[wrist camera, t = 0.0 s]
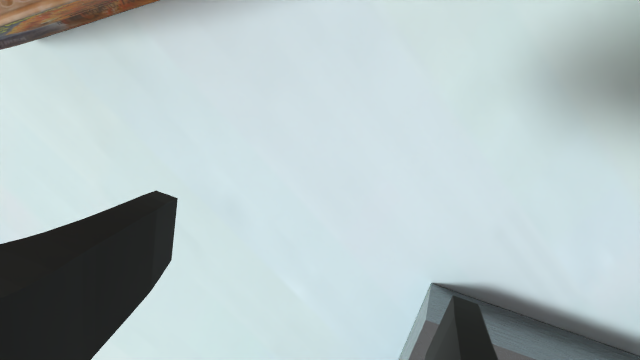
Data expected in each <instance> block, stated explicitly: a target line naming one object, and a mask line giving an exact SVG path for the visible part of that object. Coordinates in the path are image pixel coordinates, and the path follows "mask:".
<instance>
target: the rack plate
mask: <svg viewBox="0 0 640 360" xmlns="http://www.w3.org/2000/svg"><path fill="white" fill-rule="evenodd" d="M453 295H454V296H456V297H459V298H462V299H465V300H468V301H471V302H473V303H476V304H478V305H479V307H480V309H481V312H482V315H483V318H484V321H485V324H486V327H487V330H488V333H489V336H490V339H491V341H492V344H493V347H494V349H495V352H496V354H497V357H498V360H640V357H639V356H637V355H634V354H631V353H628V352H625V351H622V350H620V349H617V348H614V347H611V346H608V345H605V344H602V343H600V342H597V341H594V340H591V339H588V338H585V337H583V336H580V335H577V334H574V333H571V332H568V331H565V330H563V329H560V328H557V327H554V326H551V325H548V324H545V323H543V322H540V321H537V320H534V319H531V318H528V317H526V316H523V315H520V314H517V313H514V312H511V311H508V310H506V309H503V308H500V307H497V306H494V305H491V304H489V303H486V302H483V301H480V300H477V299H474V298H471V297H469V296H466V295H463V294H460V293H457V292H454V291H451V290H449V289H446V288H443V287H440V286H437V285H434V284H432V283H431V285H430V287H429V290H428V292H427V294H426V297H425V299H424V301H423V304H422V306H421V308H420V311H419V313H418V315H417V318H416V320H415V322H414V325H413V327H412V329H411V332H410V334H409V336H408V339H407V341H406V343H405V346H404V348H403V350H402V353H401V355H400V358H399V360H425V355H426V352H427V350H428V348H429V346H430V344H431V341H432V339H433V337H434V335H435V333H436V331H437V328H438V326H439V324H440V322H441V320H442V318H443V315H444V313H445V311H446V309H447V307H448V305H449V302H450V300H451V298H452V296H453Z"/></svg>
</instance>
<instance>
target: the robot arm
mask: <svg viewBox="0 0 640 360" xmlns="http://www.w3.org/2000/svg"><path fill="white" fill-rule="evenodd" d="M177 199H178V198H175V197H172V196H170V195H167V194H164V193H161V192H158V191H154V192H151V193H148V194H145V195H143V196H140V197H138V198H135V199H133V200H130V201H128V202H125V203H123V204H120V205H118V206H115V207H113V208H110V209H108V210H105V211H103V212H100V213H98V214H95V215H92V216H90V217H87V218H85V219H82V220H79V221H76V222H73V223H70V224H67V225H64V226H61V227H58V228H56V229H53V230H50V231H47V232H44V233H40V234H37V235H34V236H30V237H27V238H23V239H19V240H15V241H11V242H7V243H3V244H0V360H91V359H92V358H93V357H94V355H95V354H96V353H97V352H98V351H99V350H100V348H101V347H102V346H103V345H104V344H105V343H106V342H107V341H108V339H109V338H110V337H111V336H112V335H113V334H114V333H115V331H116V330H117V329H118V328H119V327H120V326H121V325H122V324H123V322H124V321H125V320H126V319H127V318H128V317H129V316H130V315H131V313H132V312H133V311H134V310H135V309H136V308H137V307H138V305H139V304H140V303H141V302H142V301H143V300H144V298H145V297H146V296H147V295H148V294H149V293H150V291H151V290H152V289H153V287H154V286H155V284H156V283H157V281H158V280H159V278H160V277H161V275H162V274H163V272H164V271H165V269H166V268H167V266H168V264H169V263H170V261H171V258H172V248H173V238H174V228H175V218H176V208H177ZM425 360H498V357H497V354H496V352H495V349H494V347H493V344H492V341H491V339H490V336H489V333H488V330H487V327H486V324H485V321H484V318H483V315H482V312H481V309H480V307H479V305H478V304H476V303H473V302H471V301H468V300H465V299H462V298H459V297H456V296H454V295H453V296H452V298H451V300H450V302H449V305H448V307H447V309H446V311H445V313H444V315H443V318H442V320H441V322H440V324H439V326H438V328H437V331H436V333H435V335H434V337H433V339H432V341H431V344H430V346H429V348H428V350H427V352H426V355H425Z"/></svg>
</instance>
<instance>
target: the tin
mask: <svg viewBox="0 0 640 360" xmlns="http://www.w3.org/2000/svg"><path fill="white" fill-rule="evenodd" d="M155 1H158V0H0V50H1V49H5V48H9V47H13V46H17V45H20V44H24V43H27V42H30V41H34V40H37V39H41V38H44V37H47V36H49V35H52V34H56V33H59V32H62V31H66V30H69V29H72V28H75V27H79V26H81V25H85V24H88V23H91V22H94V21H97V20H100V19H103V18H106V17H109V16H112V15H115V14H118V13H121V12H124V11H127V10H130V9H134V8H137V7H140V6H143V5H146V4H149V3H152V2H155Z"/></svg>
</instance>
